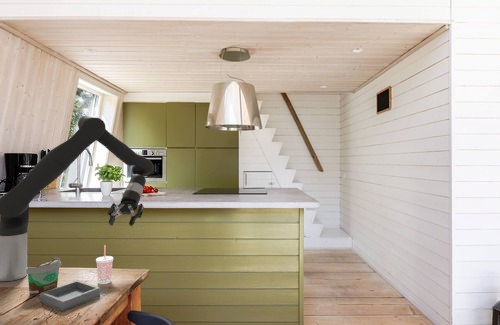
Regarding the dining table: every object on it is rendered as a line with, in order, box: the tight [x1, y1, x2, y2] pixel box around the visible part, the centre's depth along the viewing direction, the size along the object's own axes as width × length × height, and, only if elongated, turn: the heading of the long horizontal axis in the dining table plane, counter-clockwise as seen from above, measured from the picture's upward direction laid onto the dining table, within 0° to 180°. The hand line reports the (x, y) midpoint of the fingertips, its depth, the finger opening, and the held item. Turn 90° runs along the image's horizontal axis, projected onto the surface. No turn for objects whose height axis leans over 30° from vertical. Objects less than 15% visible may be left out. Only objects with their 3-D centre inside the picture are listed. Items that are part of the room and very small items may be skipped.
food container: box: [26, 256, 62, 297], centre depth 112 cm, size 12×6×10 cm, turn 168°
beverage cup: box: [95, 244, 114, 285], centre depth 121 cm, size 6×6×14 cm
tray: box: [39, 280, 101, 312], centre depth 105 cm, size 13×13×3 cm
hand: (120, 224), depth 133 cm, fingers open, 8 cm apart
